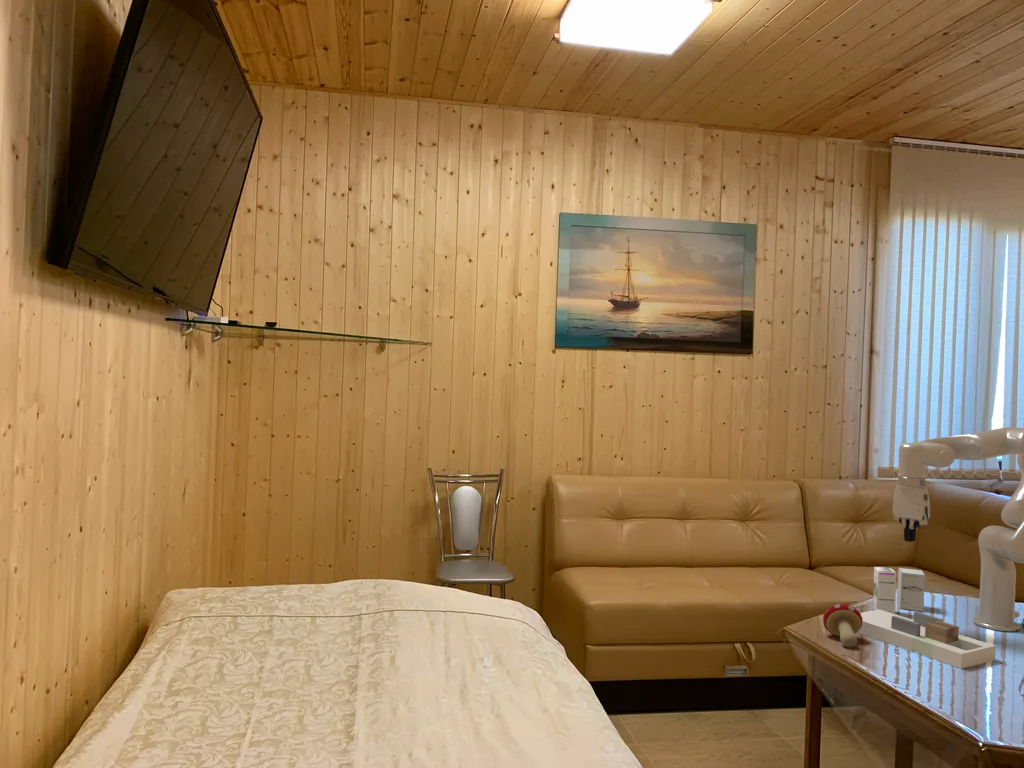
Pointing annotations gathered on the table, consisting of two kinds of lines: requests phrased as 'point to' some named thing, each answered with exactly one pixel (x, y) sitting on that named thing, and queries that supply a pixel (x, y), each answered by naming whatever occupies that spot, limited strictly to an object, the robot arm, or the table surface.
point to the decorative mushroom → (843, 623)
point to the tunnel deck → (924, 639)
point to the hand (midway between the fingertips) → (909, 540)
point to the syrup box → (884, 589)
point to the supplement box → (910, 589)
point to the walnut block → (941, 631)
